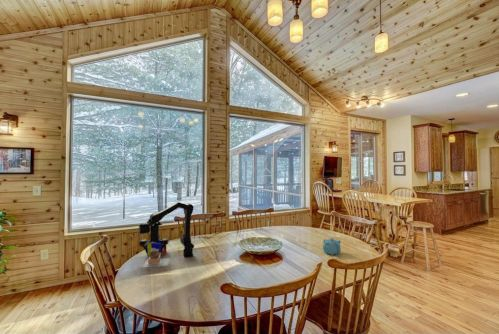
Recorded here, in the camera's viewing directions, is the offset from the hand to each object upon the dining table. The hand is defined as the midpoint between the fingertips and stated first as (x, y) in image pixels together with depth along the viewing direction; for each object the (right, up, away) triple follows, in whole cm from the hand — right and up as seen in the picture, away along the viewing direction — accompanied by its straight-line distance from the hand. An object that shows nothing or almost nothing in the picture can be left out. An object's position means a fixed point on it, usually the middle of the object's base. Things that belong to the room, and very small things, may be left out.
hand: (154, 254), depth 169 cm
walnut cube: (0, -2, 0) cm, 2 cm away
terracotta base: (0, -5, 0) cm, 5 cm away
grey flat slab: (+2, -6, -2) cm, 7 cm away
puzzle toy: (-5, -7, +16) cm, 18 cm away
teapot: (+133, -8, +22) cm, 135 cm away
